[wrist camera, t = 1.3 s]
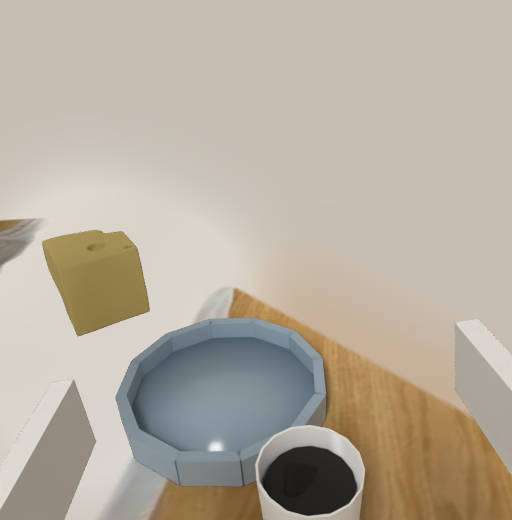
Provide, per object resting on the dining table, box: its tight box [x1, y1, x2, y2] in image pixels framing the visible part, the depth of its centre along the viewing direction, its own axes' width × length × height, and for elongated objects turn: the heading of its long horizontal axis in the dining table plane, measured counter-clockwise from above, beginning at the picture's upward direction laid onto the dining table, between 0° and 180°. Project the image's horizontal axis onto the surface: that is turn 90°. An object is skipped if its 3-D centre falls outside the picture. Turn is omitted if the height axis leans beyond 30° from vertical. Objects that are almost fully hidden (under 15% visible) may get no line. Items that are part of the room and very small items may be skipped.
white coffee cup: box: [255, 425, 365, 520], centre depth 31 cm, size 7×7×10 cm
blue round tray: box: [116, 318, 326, 486], centre depth 48 cm, size 20×20×3 cm
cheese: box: [42, 230, 150, 336], centre depth 63 cm, size 10×11×10 cm
